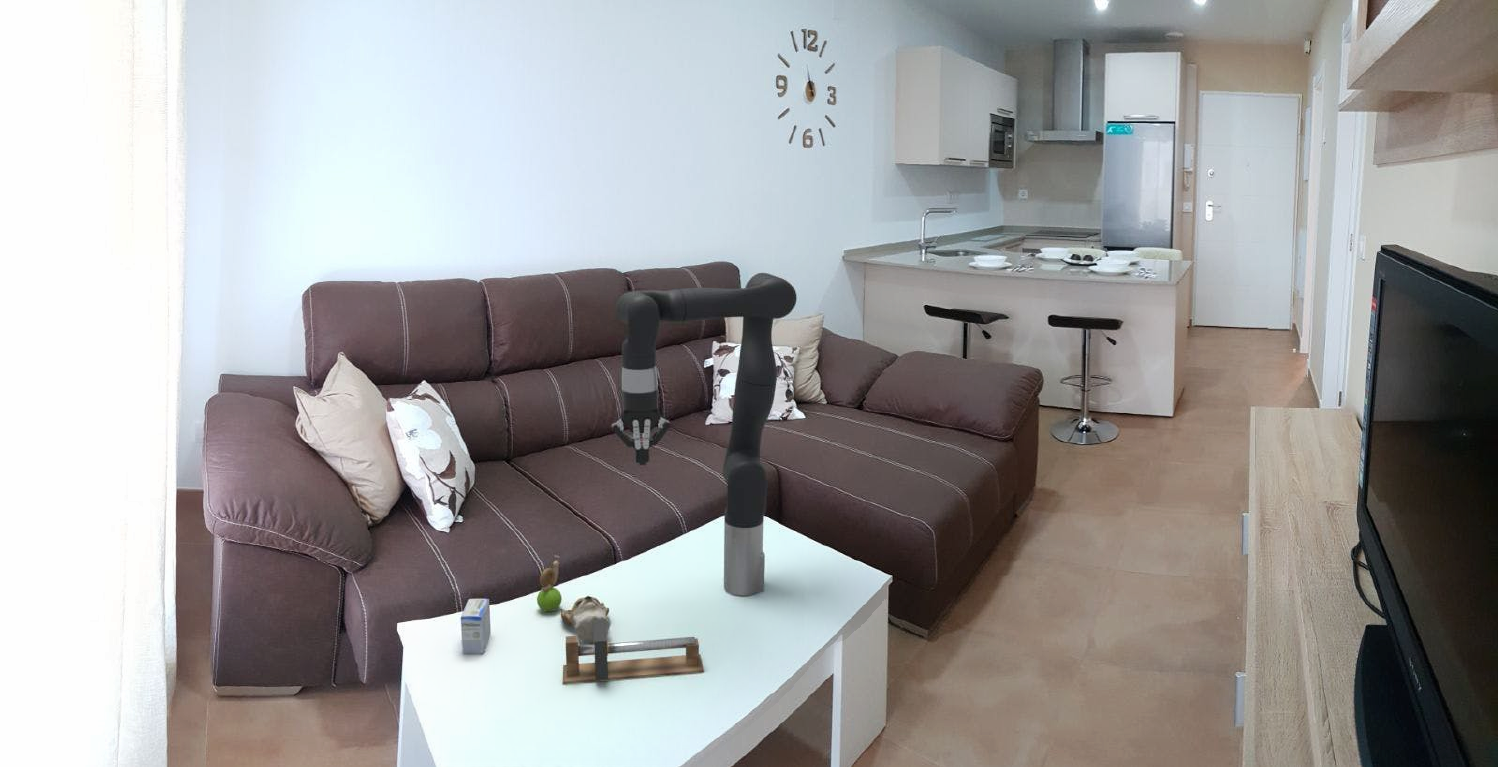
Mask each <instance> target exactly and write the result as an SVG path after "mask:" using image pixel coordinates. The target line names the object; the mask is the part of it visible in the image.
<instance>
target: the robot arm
mask: <svg viewBox="0 0 1498 767" xmlns="http://www.w3.org/2000/svg"><path fill="white" fill-rule="evenodd" d="M797 298H798V297H797V292H796V289H795V287H794V286H793V285H792V284H791V283H790V282H789V281H787V279H784V278H782V277H779V276H776V275H774V274H770V273H767V272H759V273H756V274H754V275H753V276H752V277H750V279H749V280H748V281H747V283H746V285H745V287H742V288H722V287H721V288H720V287H719V288H718V287H717V288H716V287H689V288H688V287H687V288H677V289H671V290H632V291H628V292H625V293H624V294H622V295H621V296H620V297H619V298H618V300H617V301H616V306H615V311H616V315H617V316H618V318H619V319H620V320H621V322H623V323H625V324H627V335H626V336H627V338H626V339H625V340H624V341H623V343H622V346H621V355H622V356H621V357H622V358H621V361H622V362H621V363H622V364H621V365H622V368H621V369H622V370H621V397H622V399H621V400H622V412H621V414H620V418H619V419H618V420H617V421H616V422H612V423H611V430H612V431H613V432H614V433H615V435H616V436H618V438H619V440H621V441H622V442H623V443H624V444H625V446H626V447H627V448H633V449H634V459H635V462H636V463H637V464H638V465H639V466H646V465H647V463H649V460H650V452H649V451H650V448H651V447H652V446H654V447H655V446H656V445H657V444H658V443H659V442H660V441H661V440H662V438H663V437H664V435H666V433H667V431H668V430H669V429H670V427H671V424H670V421H669V419H665V418H663V417H662V415H661V412H660V411H659V381H658V371H657V356H656V344H657V340H658V334H659V329H660V322H666V323H671V324H672V323H673V324H676V323H687V322H695V321H696V322H697V321H705V320H712V319H713V320H714V319H725V318H742V335H741V341H740V342H741V343H740V349H739V350H740V351H739V359H738V366H737V372H736V379H735V385H734V394H733V403H732V404H733V405H732V416H731V417H732V419H731V420H732V421H731V432H730V436H729V441H728V445H727V449H726V453H725V458H724V462H723V465H722V475H723V478H724V482H725V483H726V485H727V486H726V488H727V490H726V494H727V495H726V498H727V499H726V507H725V509H724V519H723V520H724V521H723V522H724V523H723V525H724V528H723V530H724V531H723V532H724V533H723V534H724V535H723V536H724V537H723V538H724V540H723V548H724V549H723V589H724V590H725V591H726V592H727V593H729V594H731V595H734V596H739V597H740V596H741V597H743V596H744V597H745V596H752V595H755V594H757V593H761V592H765V561H766V555H765V552H764V519H765V518H764V517H765V516H764V515H765V513H766V510H767V493H768V490H767V489H768V478H767V472H766V470H765V468H764V466H763V464H762V462H761V459H760V458H761V456H760V455H761V443H762V442H761V441H762V434H763V431H764V427H765V425H766V424H767V423H766V422H767V420H768V418H769V415H770V414H771V410H772V408H773V405H774V400H775V397H776V396H775V395H776V388H777V387H776V386H777V381H778V380H777V378H778V368H777V362H776V357H775V351H774V347H773V346H774V345H773V338H772V335H773V334H772V332H773V331H772V330H773V325H774V324H773V323H774V320H777V319H782V318H784V317H786V316H788V315H789V314H791V313H792V311H793V310H794V308H795V306H796V304H797ZM657 425H658V428H657V429H656V431H655V432H654V434H652V435H650V434H651V432H652V431H653V430H654V429H655V427H656V426H657ZM624 426H625V427H626V428H627V429H628V431H630V433H632V435H633V439H631V438H630V436H628V434H627V433H626V432H625V431H624V429H625V428H624ZM641 434H642V438H641ZM650 436H651V437H650ZM641 440H642V443H641Z"/></svg>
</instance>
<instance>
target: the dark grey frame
mask: <svg viewBox="0 0 1498 767" xmlns="http://www.w3.org/2000/svg"><path fill="white" fill-rule="evenodd" d="M607 642H608V633H607V634H606V619H604V620H594V643H593V645H595V655H594V663H595V678H596V680H602V679H608V662H607V661H608V655H607Z"/></svg>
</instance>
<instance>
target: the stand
mask: <svg viewBox="0 0 1498 767" xmlns="http://www.w3.org/2000/svg"><path fill="white" fill-rule="evenodd" d="M578 646H579V638H578V635H567V636H566V635H565V660H566V661H565V662H566V663H565V664H563V665H562V685H571V684H583V683H584V684H585V683H593V682H595V683H596V682H605V681H607V682H608V681H618V680H620V681H621V680H630V679H641V678H652V677H665V676H666V677H667V676H679V675H688V674H689V675H690V674H702V673H705V668H704V664H703V660H702V656H701V654H700V644H699V639H698V637H695V644H694V645H687V648H685V655H684V654H683V655H672V656H660V657H659V656H658V657H647V658H634V659H622V660H621V659H620V660H610V661H609V660H607V662H608V679H602V680H596V678H595V662H586V663H580V660H579V657H580V656H578Z"/></svg>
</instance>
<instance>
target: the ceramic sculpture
mask: <svg viewBox="0 0 1498 767" xmlns="http://www.w3.org/2000/svg"><path fill="white" fill-rule="evenodd" d="M609 613H610V608H609V607H606V606H605V604H604V602H600V601H599V599H598V598H596V597H593V596H590V595H587V596H585V597H581V598H578V599H577V600H575V602H574V603H573V605H572V607H571V609H567V610H566V609H563V608H561V609H560V618H561V620H562V621H563V622H565V624H568V625H571V626H574V627H575V628H574V631H575V636H577V635H578V640H580V641H581V642H583V643H590V644H591V643H593V644H594V620H604V619H606V634H607V635H608V633H609V631H610V630H609V629H610V627H611V626H610V625H611V622H610V620H609V619H608V618H607V616H608V615H609Z"/></svg>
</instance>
